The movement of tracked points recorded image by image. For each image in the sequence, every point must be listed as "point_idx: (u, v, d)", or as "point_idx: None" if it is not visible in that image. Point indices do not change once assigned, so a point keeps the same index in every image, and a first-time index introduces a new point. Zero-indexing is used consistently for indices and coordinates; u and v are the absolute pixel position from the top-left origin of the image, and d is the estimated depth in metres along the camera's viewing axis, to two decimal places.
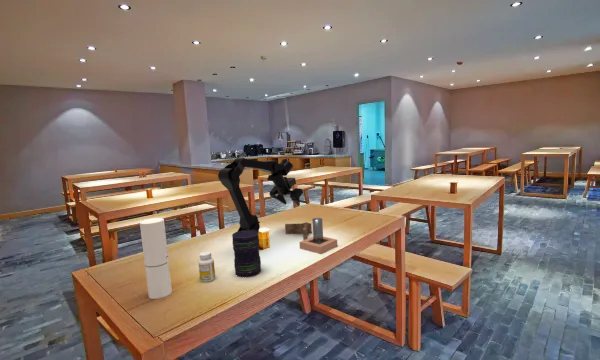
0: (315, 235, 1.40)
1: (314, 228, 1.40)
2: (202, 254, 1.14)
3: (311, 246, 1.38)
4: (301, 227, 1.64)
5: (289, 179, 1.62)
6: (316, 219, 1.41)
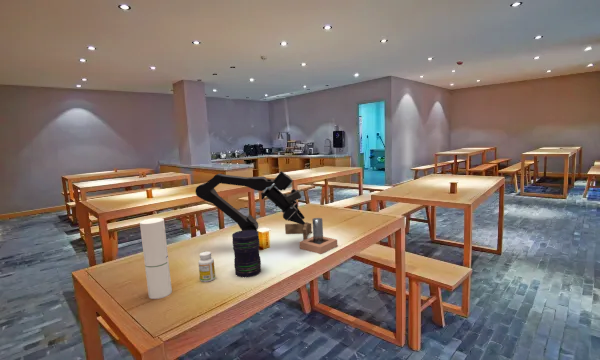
0: (315, 235, 1.40)
1: (314, 228, 1.40)
2: (202, 254, 1.14)
3: (311, 246, 1.38)
4: (301, 227, 1.64)
5: (292, 193, 1.39)
6: (316, 219, 1.41)
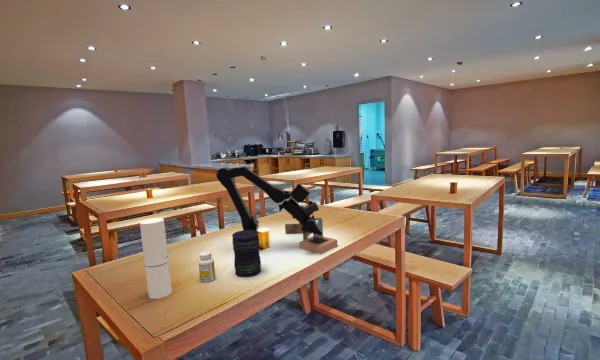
0: (315, 235, 1.40)
1: None
2: (202, 254, 1.14)
3: (311, 246, 1.38)
4: None
5: (310, 205, 1.40)
6: (316, 219, 1.41)
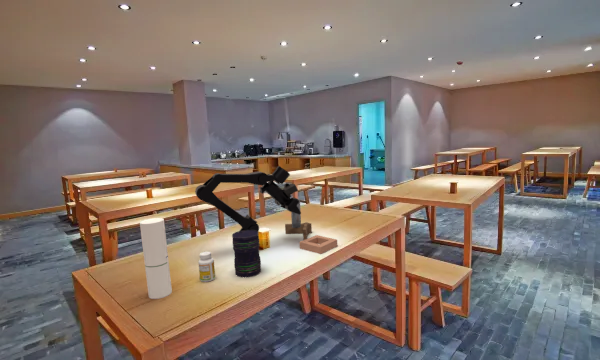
0: (295, 215, 1.49)
1: None
2: (202, 254, 1.14)
3: (311, 246, 1.38)
4: (301, 227, 1.64)
5: (289, 186, 1.48)
6: None
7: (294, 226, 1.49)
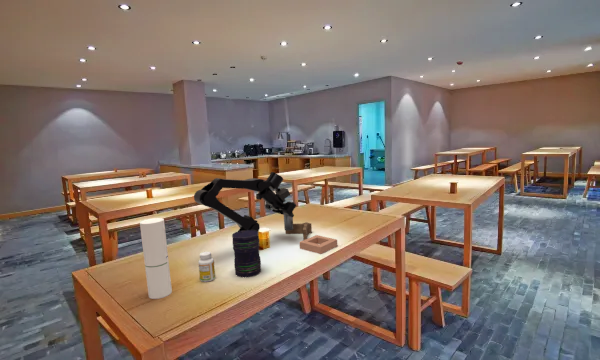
0: (288, 218, 1.54)
1: None
2: (202, 254, 1.14)
3: (311, 246, 1.38)
4: (301, 227, 1.64)
5: (282, 191, 1.53)
6: None
7: (288, 229, 1.55)
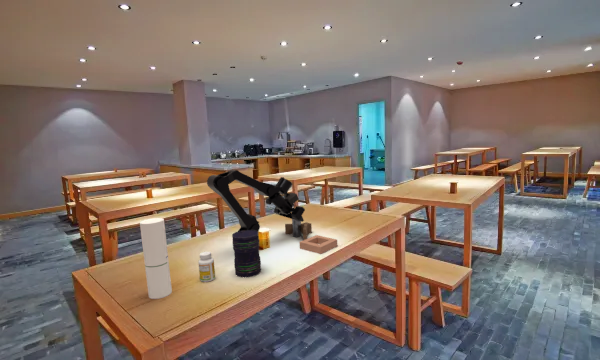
0: (297, 225, 1.58)
1: None
2: (202, 254, 1.14)
3: (311, 246, 1.38)
4: (301, 227, 1.64)
5: (290, 196, 1.56)
6: None
7: (296, 236, 1.59)
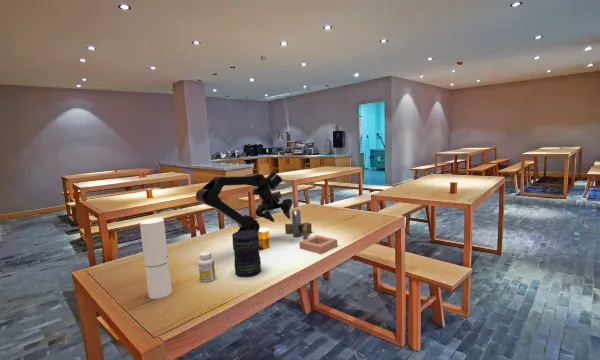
0: (297, 225, 1.58)
1: (295, 219, 1.58)
2: (202, 254, 1.14)
3: (311, 246, 1.38)
4: (301, 227, 1.64)
5: (274, 193, 1.54)
6: (296, 211, 1.59)
7: (296, 236, 1.59)
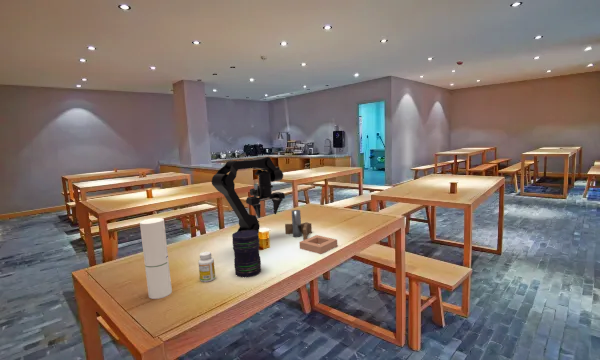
0: (296, 225, 1.58)
1: (295, 219, 1.58)
2: (202, 254, 1.14)
3: (311, 246, 1.38)
4: (301, 227, 1.64)
5: None
6: (295, 211, 1.59)
7: (296, 236, 1.59)
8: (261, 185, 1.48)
